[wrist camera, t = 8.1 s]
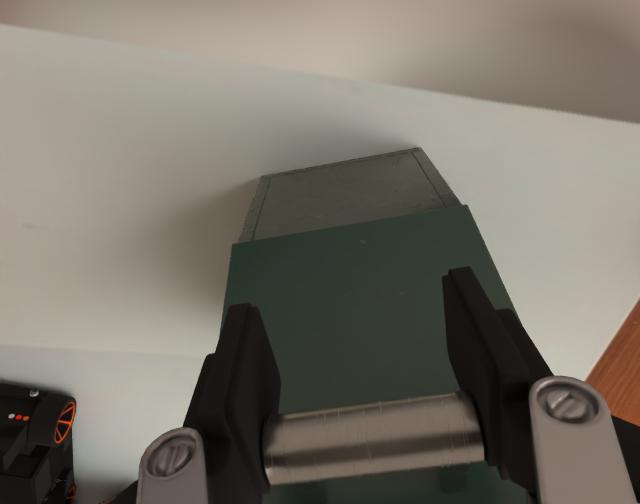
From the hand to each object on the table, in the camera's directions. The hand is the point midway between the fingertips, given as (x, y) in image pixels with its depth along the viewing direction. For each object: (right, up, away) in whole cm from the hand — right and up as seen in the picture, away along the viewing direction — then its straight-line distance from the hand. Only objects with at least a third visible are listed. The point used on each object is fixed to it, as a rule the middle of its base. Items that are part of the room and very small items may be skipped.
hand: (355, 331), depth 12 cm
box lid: (+1, -2, +4) cm, 5 cm away
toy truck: (-32, -18, +34) cm, 50 cm away
